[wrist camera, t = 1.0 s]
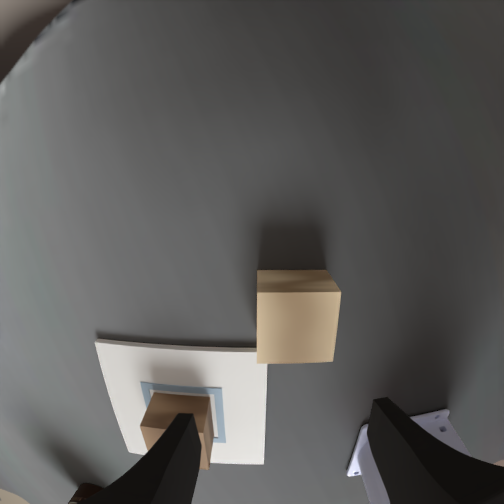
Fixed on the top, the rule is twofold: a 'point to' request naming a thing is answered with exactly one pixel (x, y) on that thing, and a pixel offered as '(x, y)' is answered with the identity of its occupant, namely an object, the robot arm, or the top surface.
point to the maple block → (296, 316)
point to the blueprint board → (190, 391)
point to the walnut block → (165, 411)
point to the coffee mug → (84, 492)
